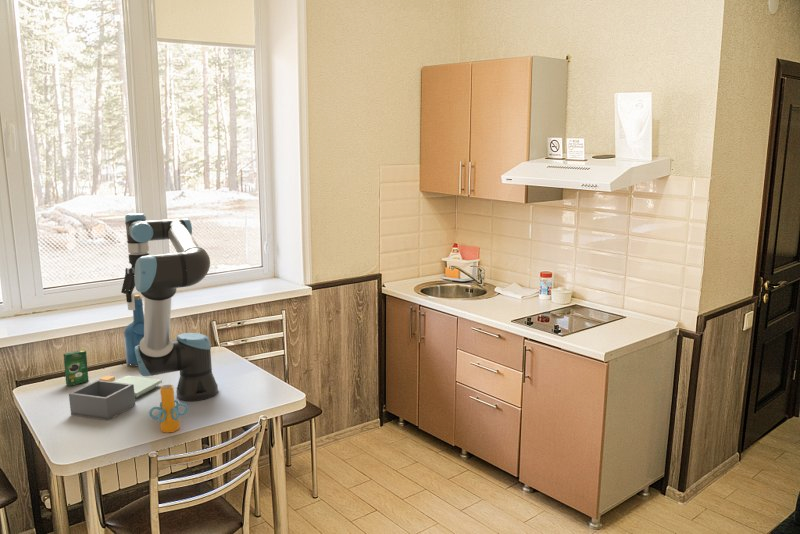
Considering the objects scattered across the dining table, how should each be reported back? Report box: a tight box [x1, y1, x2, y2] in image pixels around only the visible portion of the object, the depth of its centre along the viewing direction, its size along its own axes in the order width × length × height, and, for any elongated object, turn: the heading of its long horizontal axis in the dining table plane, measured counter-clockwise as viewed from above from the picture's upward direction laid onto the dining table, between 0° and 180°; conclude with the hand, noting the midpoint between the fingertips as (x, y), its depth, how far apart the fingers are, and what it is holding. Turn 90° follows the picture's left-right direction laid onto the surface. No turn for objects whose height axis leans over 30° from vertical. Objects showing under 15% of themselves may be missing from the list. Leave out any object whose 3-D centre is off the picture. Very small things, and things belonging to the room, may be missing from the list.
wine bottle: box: [123, 294, 144, 366], centre depth 288 cm, size 14×13×30 cm
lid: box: [98, 375, 163, 399], centre depth 259 cm, size 22×15×4 cm
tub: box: [68, 379, 136, 421], centre depth 239 cm, size 16×14×8 cm
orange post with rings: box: [149, 384, 189, 434], centre depth 222 cm, size 12×10×15 cm
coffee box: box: [63, 349, 90, 387], centre depth 265 cm, size 8×3×13 cm, turn 133°
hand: (143, 305), depth 264 cm, fingers open, 13 cm apart
